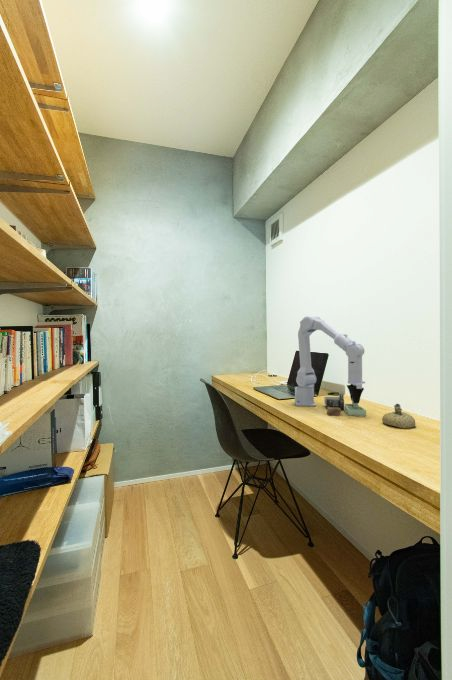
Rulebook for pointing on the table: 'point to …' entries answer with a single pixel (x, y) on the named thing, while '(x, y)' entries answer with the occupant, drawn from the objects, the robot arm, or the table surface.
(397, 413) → the acorn cap
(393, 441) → the table surface
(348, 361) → the robot arm
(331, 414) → the brown rectangular block
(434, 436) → the table surface
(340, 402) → the cart
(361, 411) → the tray
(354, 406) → the pin
